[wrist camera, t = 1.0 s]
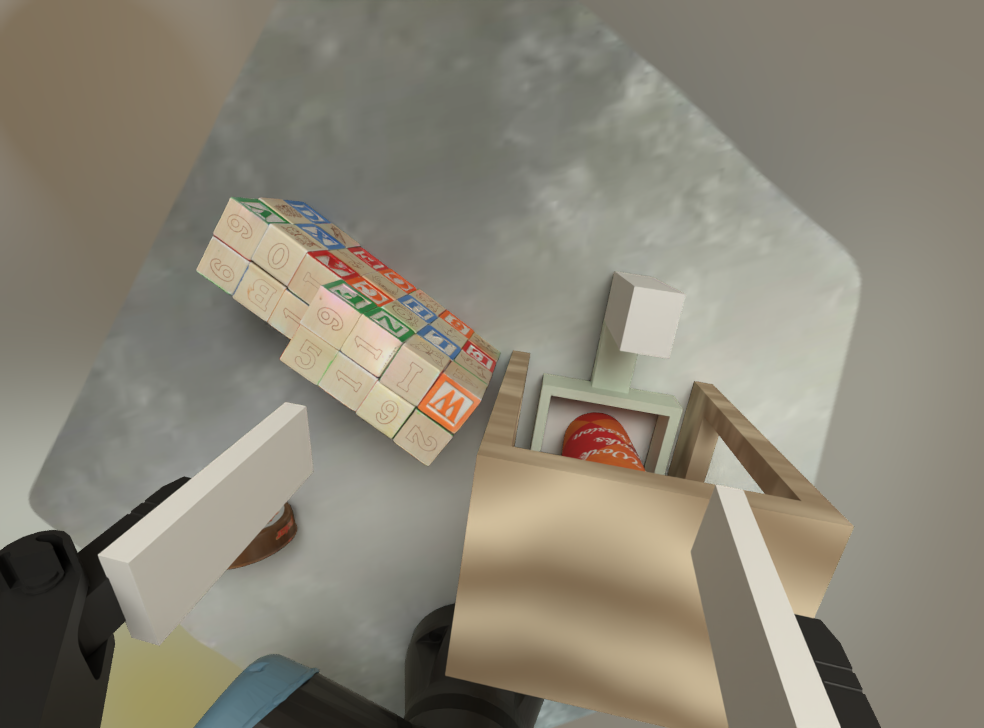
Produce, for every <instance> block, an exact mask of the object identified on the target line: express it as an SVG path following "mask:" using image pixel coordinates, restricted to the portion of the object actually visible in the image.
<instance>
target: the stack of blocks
mask: <svg viewBox="0 0 984 728" xmlns="http://www.w3.org/2000/svg"><path fill="white" fill-rule="evenodd" d="M213 233H214V236H213V237H212V239H211V241H210V243H209V245H208V247H207V249H206V251H205V253H204V255H203V257H202V259H201V261H200V263H199V265H198V267H197V270H196V271H197V272H198V273H199V274H201V275H202V276H204V277H205V278H207V279H208V280H209V281H211V282H212V283H214V284H215V285H217V286H218V287H219V288H221V289H222V290H223V291H225V292H226V293H228V294H230V295H232V296H233V298H234V299H235V300H236V301H238V302H239V303H241V304H242V305H243V306H245V307H246V308H247V309H249V310H250V311H252V312H253V313H254V314H256V315H257V316H259V317H260V318H261V319H263V320H264V321H266V322H268V323H269V324H270V325H271V326H272V327H274V328H275V329H276V330H278V331H279V332H280V333H282V334H283V335H285V336H286V337H288V338H289V339H291V340H290V342H289V344H288V346H287V347H286V349H285V350H284V352H283V353H282V355H281V357H280V360H281V361H282V362H283V363H285V364H286V365H288V366H289V367H290V368H292V369H293V370H295V371H296V372H298V373H299V374H301V375H302V376H303V377H305V378H306V379H308V380H309V381H310V382H312V383H313V384H315V385H318V386H319V387H320V388H322V389H323V390H324V391H326V392H327V393H328V394H330V395H331V396H333V397H334V398H336V399H337V400H339V401H340V402H341V403H343V404H344V405H345V406H347V407H348V408H350V409H351V410H353V411H355V412H356V414H357V415H358V416H360V417H361V418H362V419H364V420H365V421H366V422H368V423H369V424H371V425H372V426H373V427H375V428H376V429H378V430H379V431H380V432H382V433H383V434H385V435H386V436H387V437H389V438H391V439H393V441H394V442H395V443H396V444H397V445H399V446H400V447H401V448H403V449H404V450H405V451H407V452H408V453H409V454H411V455H412V456H413V457H415V458H416V459H418V460H419V461H420V462H422V463H423V464H424V465H426V466H429V465H430V464H431V463H432V462H433V460H434V459H435V458H436V457H437V456H438V454H439V453H440V452H441V451H442V450H443V448H444V447H445V446H446V445H447V444H448V442H449V441H450V440H451V439H452V437H453V436H454V434H455V433H456V432H457V431H458V430H459V429H460V427H461V426H462V425H463V424H464V422H465V421H466V420H467V419H468V417H469V416H470V415H471V414H472V412H473V411H474V410H475V409H476V407H477V406H478V405H479V404H480V402H481V401H482V398H483V396H484V393H485V390H486V389H487V387H488V385H489V382H490V380H491V378H492V374H493V371H494V368H495V365H496V362H497V361H498V359H499V356H500V352H499V351H498V350H497V349H495V348H494V347H493V346H492V345H490V344H489V343H488V342H486V341H485V340H484V339H482V338H481V337H480V336H479V335H477V334H476V333H475V332H474V331H473V330H472V329H471V328H470V327H468V326H467V325H466V324H464V323H463V322H462V321H461V320H459V319H458V318H457V317H455V316H454V315H453V314H451V313H450V312H449V311H447V310H446V309H445V308H444V307H442V306H441V305H440V304H439V303H437V302H436V301H435V300H433V299H432V298H431V297H430V296H428V295H427V294H425V293H424V292H423V291H422V290H420V289H417V288H415V287H414V286H413V285H412V284H410V283H409V282H407V281H406V280H405V279H404V278H402V277H401V276H400V275H398V274H397V273H396V272H394V271H393V270H392V269H389V268H388V267H387V266H385V265H384V264H383V263H382V262H380V261H379V260H378V259H376V258H375V257H374V256H372V255H371V254H370V253H368V252H367V251H366V250H365V249H363V248H361V245H360V244H359V243H357V242H356V241H355V240H353V239H352V238H351V237H349V236H348V235H347V234H346V233H344V232H343V231H342V230H340V229H339V228H338V227H336V226H335V225H334V224H332V223H330V222H329V221H328V220H327V219H325V218H324V217H323V216H321V215H320V214H319V213H317V212H316V211H315V210H313V209H312V208H311V207H309V206H308V205H307V204H305V203H304V202H300V201H289V200H281V199H272V198H259V199H253V198H241V197H231V198H230V200H229V202H228V204H227V206H226V208H225V210H224V212H223V214H222V217H221V219H220V221H219V222H218V224H217V226H216V228H215V230H214V232H213Z"/></svg>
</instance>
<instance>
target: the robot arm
mask: <svg viewBox="0 0 984 728" xmlns="http://www.w3.org/2000/svg"><path fill="white" fill-rule="evenodd" d="M313 471H314V470H313V461H312V453H311V444H310V435H309V426H308V418H307V409H306V406H303V405H298V404H292V403H287V402H285V403H284V404H283V405H281V406H280V407H279V408H278V409H277V410H275V411H274V412H273V413H272V414H270V415H269V416H268V417H267V418H266V419H264V420H263V421H262V422H261V423H259V424H258V425H257V426H256V427H254V428H253V429H252V430H251V431H250V432H248V433H247V434H246V435H245V436H243V437H242V438H241V439H240V440H238V441H237V442H236V443H235V444H234V445H232V446H231V447H230V448H229V449H227V450H226V451H225V452H224V453H222V454H221V455H220V456H219V457H218V458H216V459H215V460H214V461H213V462H211V463H210V464H209V465H208V466H206V467H205V468H204V469H203V470H202V471H200V472H199V473H198V474H197V475H195V476H194V477H193V478H188V477H182V478H180V479H178V480H176V481H174V482H171V483H169V484H167V485H165V486H163V487H162V488H160V489H159V490H158V491H156V492H155V493H154V494H153V495H151V496H150V497H149V498H147V499H146V500H145V503H141V504H140V505H138V506H137V507H136V508H135V509H133V510H132V511H131V513H130V514H127V515H126V516H124V517H123V518H122V519H120V520H119V521H118V522H117V523H115V524H114V525H113V526H111V527H110V528H109V529H108V530H106V531H105V532H104V533H102V534H101V535H100V536H99V537H97V538H96V539H95V540H93V541H92V542H91V543H90V544H88V545H87V546H86V547H84V548H83V549H82V550H81V551H79V552H78V553H77V550H76V548H75V546H74V544H73V541H72V539H71V537H70V536H69V535H68V534H67V533H66V532H64V531H58V530H49V531H41V532H37V533H34V534H31V535H28V536H25V537H22V538H20V539H18V540H16V541H14V542H12V543H10V544H9V545H7V546H6V547H4V548H3V549H2V550H0V728H100V725H101V720H102V714H103V709H104V703H105V698H106V692H107V686H108V681H109V674H110V670H111V664H112V658H113V653H114V647H115V640H114V635H113V633H114V632H115V631H116V630H117V629H118V628H119V627H120V626H121V625H122V624H123V623H124V622H126V625H127V627H128V630H129V632H130V635H131V637H132V638H135V639H139V640H142V641H145V642H149V643H152V644H156V645H160V644H161V643H162V642H163V641H164V640H165V639H166V638H167V636H168V635H169V634H170V633H171V632H172V631H173V630H174V629H175V627H176V626H177V625H178V624H179V623H180V622H181V621H182V620H183V618H184V617H185V616H186V615H187V614H188V613H189V612H190V611H191V609H192V608H193V607H194V606H195V605H196V604H197V603H198V601H199V600H200V599H201V598H202V597H203V596H204V595H205V594H206V592H207V591H208V590H209V589H210V588H211V587H212V586H213V584H214V583H215V582H216V581H217V580H218V579H219V578H220V577H221V575H222V574H223V573H224V572H225V571H226V570H227V569H228V568H229V566H230V565H231V564H232V563H233V562H234V561H235V560H236V558H237V557H238V556H239V555H240V554H241V553H242V552H243V551H244V549H245V548H246V547H247V546H248V545H249V544H250V543H251V541H252V540H253V539H254V538H255V537H256V536H257V535H258V534H259V532H260V531H261V530H262V529H263V528H264V527H265V526H266V525H267V523H268V522H269V521H270V520H271V519H272V518H273V517H274V515H275V514H276V513H277V512H278V511H279V510H280V509H281V508H282V506H283V505H284V504H285V503H286V502H287V501H288V500H289V498H290V497H291V496H292V495H293V494H294V493H295V492H296V491H297V489H298V488H299V487H300V486H301V485H302V484H303V483H304V481H305V480H306V479H307V478H308V477H309V476H310V475H311V474H312V472H313ZM691 557H692V561H693V566H694V570H695V575H696V580H697V584H698V589H699V593H700V598H701V603H702V607H703V612H704V616H705V621H706V625H707V630H708V635H709V639H710V644H711V648H712V653H713V657H714V662H715V667H716V671H717V676H718V680H719V685H720V690H721V694H722V699H723V703H724V708H725V712H726V717H727V722H728V726H729V728H881V727H880V725H879V723H878V720H877V718H876V716H875V714H874V712H873V710H872V708H871V706H870V704H869V702H868V700H867V698H866V695H865V694H863V693H862V687H861V685H860V683H859V681H858V679H857V677H856V675H855V673H853V672H852V667H851V664H850V662H849V660H848V658H847V656H846V654H845V652H844V650H843V648H842V646H841V643H840V642H839V641H838V640H837V639H836V638H835V636H834V635H833V634H832V633H831V632H830V630H829V629H828V628H827V627H826V626H825V624H824V623H823V622H822V621H821V620H819V619H815V618H810V617H806V616H802V615H797V614H794V612H793V610H792V607H791V605H790V603H789V600H788V598H787V595H786V593H785V590H784V588H783V586H782V583H781V581H780V578H779V576H778V573H777V571H776V568H775V566H774V564H773V561H772V559H771V556H770V554H769V551H768V549H767V547H766V544H765V542H764V539H763V537H762V534H761V532H760V530H759V527H758V525H757V522H756V520H755V517H754V515H753V513H752V510H751V508H750V505H749V503H748V500H747V498H746V495H745V493H744V491H743V490H742V489H736V488H731V487H726V486H721V485H715V487H714V490H713V493H712V495H711V498H710V501H709V503H708V506H707V509H706V511H705V514H704V517H703V520H702V522H701V525H700V528H699V530H698V533H697V536H696V538H695V541H694V544H693V547H692V549H691ZM454 610H455V604H452V605H448V606H445V607H442V608H439V609H437V610H435V611H433V612H432V613H430V614H429V615H428V616H426V617H425V618H424V619H423V620H422V621H421V622H420V623H419V625H418V626H417V628H416V630H415V632H414V634H413V637H412V639H411V642H410V645H409V648H408V651H407V655H406V661H405V717H404V719H403V718H401V717H400V716H398V715H396V714H395V713H393V712H391V711H389V710H387V709H385V708H383V707H381V706H380V705H378V704H376V703H374V702H372V701H370V700H368V699H366V698H364V697H362V696H361V695H359V694H357V693H355V692H353V691H351V690H349V689H347V688H345V687H343V686H342V685H340V684H338V683H336V682H334V681H332V680H330V679H328V678H326V677H324V676H323V675H321V674H319V669H317V668H312V669H311V668H308V667H306V666H304V665H302V664H300V663H297V662H295V661H293V660H291V659H289V658H286V657H284V656H282V655H277V654H271V655H266V656H263V657H261V658H259V659H257V660H256V661H254V662H253V663H252V664H250V665H249V666H248V667H247V668H246V669H245V670H244V671H243V672H242V673H241V674H240V675H239V676H238V677H237V678H236V679H235V680H234V681H233V682H232V683H231V684H230V686H229V687H228V688H227V689H226V690H225V691H224V692H223V693H222V695H221V696H220V697H219V698H218V699H217V700H216V701H215V703H214V704H213V705H212V706H211V707H210V708H209V710H208V711H207V712H206V713H205V714H204V716H203V717H202V718H201V719H200V720H199V722H198V723H197V724H196V725H195V727H194V728H534V725H535V722H536V720H537V717H538V714H539V712H540V709H541V707H542V704H543V701H544V699H543V698H539V697H535V696H531V695H526V694H522V693H518V692H514V691H509V690H505V689H501V688H496V687H492V686H488V685H484V684H479V683H475V682H471V681H467V680H462V679H458V678H454V677H450V676H445V672H446V665H447V658H448V651H449V645H450V638H451V631H452V624H453V617H454Z"/></svg>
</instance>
